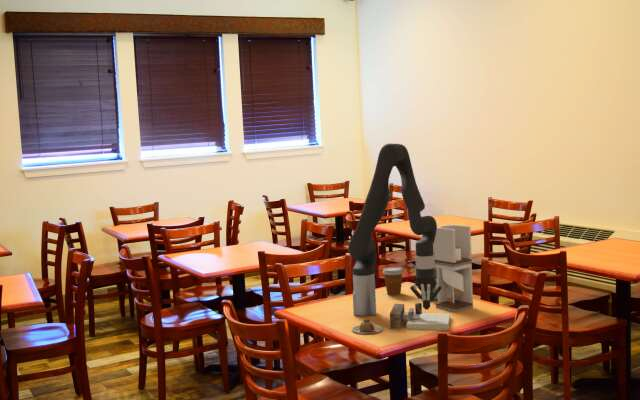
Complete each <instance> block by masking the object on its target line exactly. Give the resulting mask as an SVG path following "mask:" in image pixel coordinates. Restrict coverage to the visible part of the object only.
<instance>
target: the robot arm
mask: <svg viewBox="0 0 640 400" xmlns="http://www.w3.org/2000/svg"><path fill="white" fill-rule="evenodd" d="M409 153H410V152H409V151H408V148H407V147H406V146H405V145H403V144H402V143H385V144H384V145H382V147H381V148H380V150H379V153H378V157H377V161H376V165H375V170H374V174H373V178H372V180H371V183H370V187H369V189H368V193H367V195H366V197H365V201H364V204H363V207H362V210H361V213H360V215H359V216H360V217H359V220H358V223H357V226H356V227H355V231H354V232H353V235H352V236H351V238H350V241H349V244H348V253H349V256H350V257H351V258H352V259H354V260H356V261H355V263H354V265H353V267H352V283H353V284H352V286H353V287H352V288H353V292H352V303H353V304H352V308H353V309H352V310H353V315H354V316H361V317H366V316H367V317H368V316H373V315H376V314H377V301H376V300H377V298H376V278H375V275H376V273H375V269H376V265H377V249H376V248H377V247H376V243H375V240H374V239H373V238H372V235H373V233H374V230H375V229H376V227H377V226H378V224H379V223H380V221H381V220H382V218H383V217H384V215H385V213H386V210H387V208H388V205H389V201H390V198H391V197H390V196H391V195H390V193H391V192H390V185H389V183H390V182H389V181H390V176H391V173H392V170H393V168H394V167H396V169H397V170H398V173H399V175H400V180H401V196H402V199H403V202H404V204H405V207H406V209H407V212H408V213H407V214H408V222H409V227H410V229H411V231H412V233H413V234H415V236H421V238H420V239H418V240H416V242H415V282H414V284H412V285H410V290H411V292H413V294H414V295H415V296H416V297H417V298H418V299H419V300H421V301H422V309H424V310H425V311H426V310H429V309H430V308H431V301H432V300H431V299H434V298H435V296H436V295H437V294H438V293H439V291H440V290H441V288H442V286H441V285H438V284H437V281H436V280H435V260H434V240H435V236H436V231H437V227H438V224H437V221H436V219H435V218H434V216H431V215H425V216H422V215H421V212H422V211H424V210H425V209H426V208H425V207H426V206H425V202H424V199H423V197H422V195H421V192H420V190H419V188H418V187H419V186H418V185H417V182H416V177H415V175H414V170H413V165H412V161H411V158H410V154H409ZM435 286H436V288H435V289H436V291H435V292H434V293H433V294H432V295H431V296H430V293H431V291H432V290H433V288H434V287H435ZM417 289H418V290H419V291H418V290H417ZM421 291H422V295H421V293H420V292H421ZM426 292H427V299H426Z"/></svg>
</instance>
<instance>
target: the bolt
mask: <svg viewBox="0 0 640 400" xmlns="http://www.w3.org/2000/svg"><path fill="white" fill-rule="evenodd" d="M414 308H415V309H414V312H413V314H412V315H413V319H420V317H421V316H420V314H422V313H423V302H422V303H421V302H415V303H414ZM408 312H409V311H407V312H406V311H405V312H403V314H402V316H403V319H404V320H408V319H409V316H408Z"/></svg>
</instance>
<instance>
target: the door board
mask: <svg viewBox="0 0 640 400" xmlns="http://www.w3.org/2000/svg"><path fill="white" fill-rule="evenodd" d="M414 308H415V307H409V308H408V309H409V310H408V311H407V312H408V316H409V319H407V322H406V330H449V329H450V328H449V326H450V321H451V313H438V312H437V313H432V312H431V313H426V312H425V313H424V312H422V314H420V316H421V317H420V319H413V315H412V314H413V312H415V309H414Z"/></svg>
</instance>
